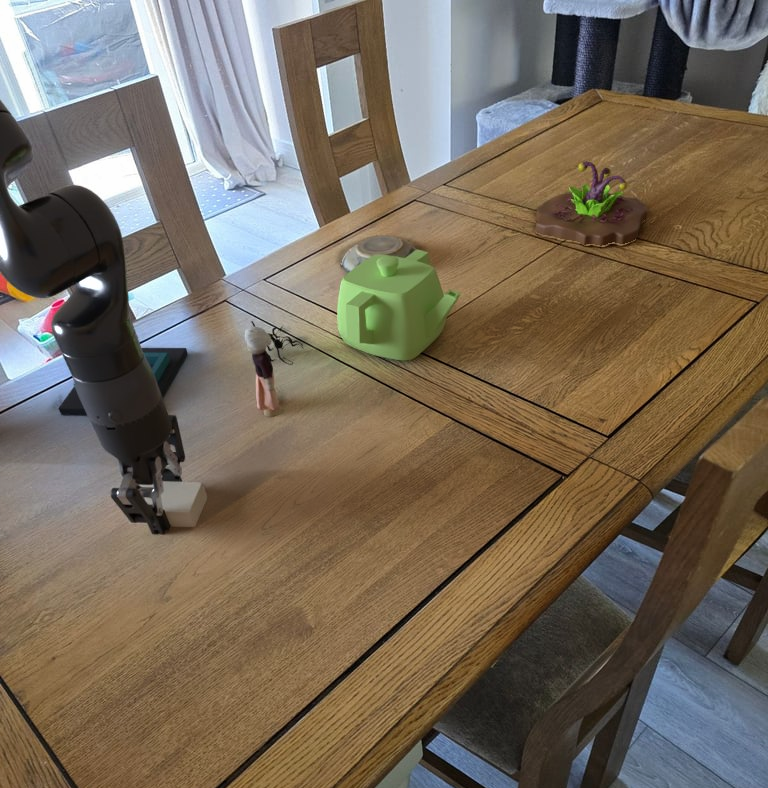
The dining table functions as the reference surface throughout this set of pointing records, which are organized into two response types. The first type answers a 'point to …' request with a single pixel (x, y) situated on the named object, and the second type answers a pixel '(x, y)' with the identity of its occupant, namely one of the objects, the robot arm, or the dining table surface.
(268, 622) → the dining table surface
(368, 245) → the decorative bowl
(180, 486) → the cream pad
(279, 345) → the creature
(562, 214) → the plant
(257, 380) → the grandmother figurine
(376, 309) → the teapot
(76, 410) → the pad
